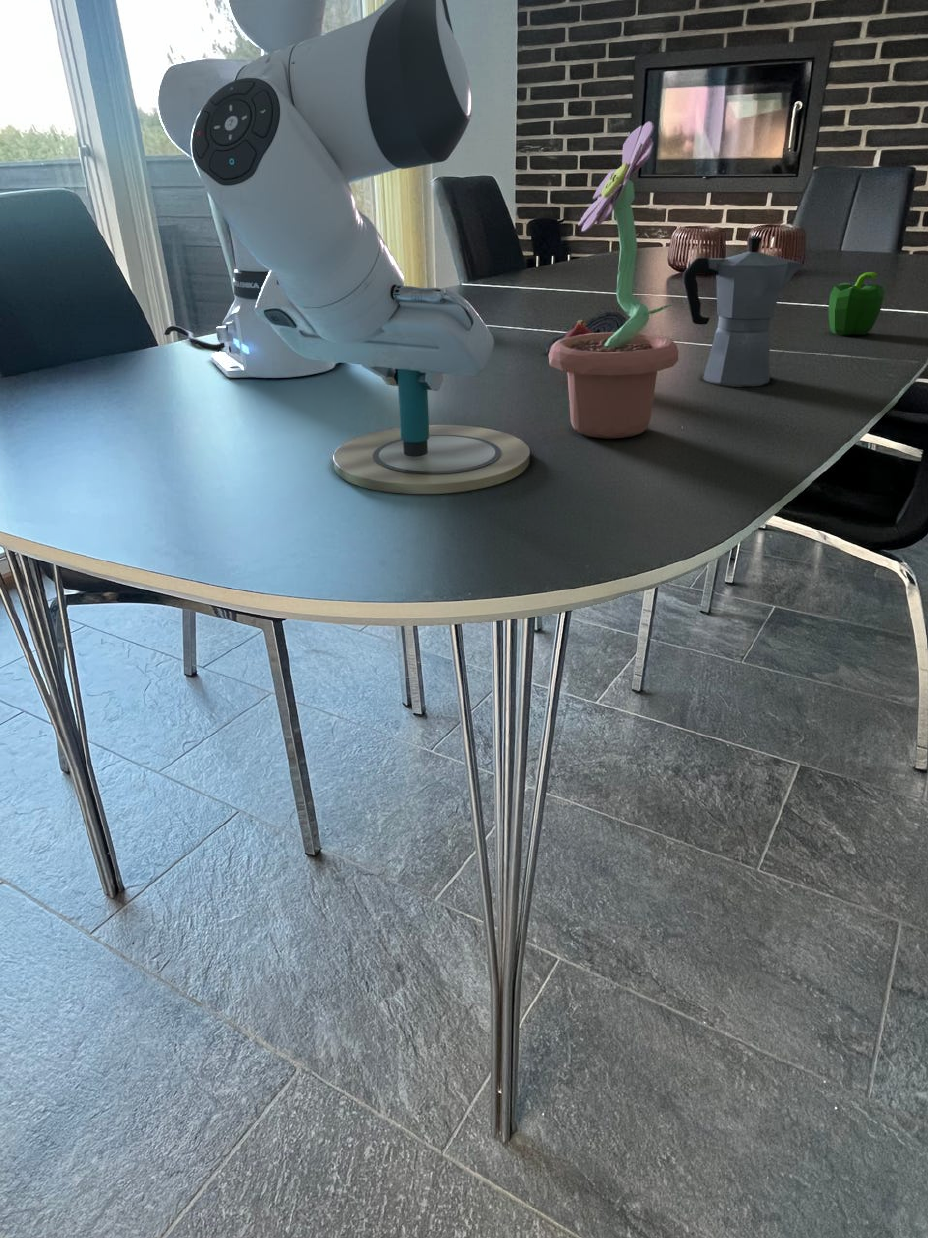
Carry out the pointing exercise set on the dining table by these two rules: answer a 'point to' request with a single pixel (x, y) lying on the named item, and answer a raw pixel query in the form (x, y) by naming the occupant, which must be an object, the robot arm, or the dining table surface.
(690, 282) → the coffeepot
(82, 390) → the dining table surface
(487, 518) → the dining table surface
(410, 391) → the marker
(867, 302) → the bell pepper
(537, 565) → the dining table surface
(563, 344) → the decorative flower
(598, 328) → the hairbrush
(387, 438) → the round wooden trivet
